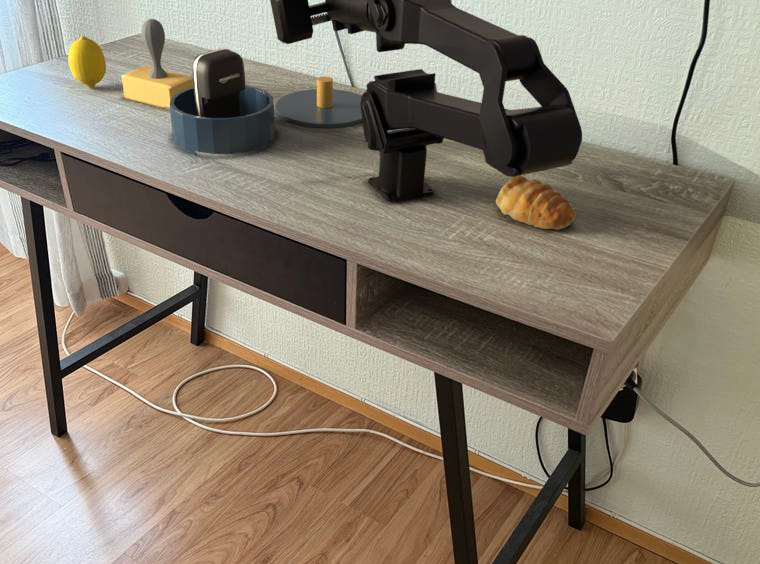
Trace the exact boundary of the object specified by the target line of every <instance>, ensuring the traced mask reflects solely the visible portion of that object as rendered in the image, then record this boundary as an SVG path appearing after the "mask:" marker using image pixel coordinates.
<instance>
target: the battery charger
mask: <svg viewBox="0 0 760 564" xmlns="http://www.w3.org/2000/svg"><path fill="white" fill-rule="evenodd" d="M244 63H245V62H244V60H243V57H242V56H241V55H240V54H239V53H238V52H236V51H233V50H231V49H229V48H218V49H213V50H209V51H206V52H203V53H199V54H197V56H195V57H194V59H193V61H192V64H191V65H192V67H191V68H192V70H191V71H192V77H193V86H194V95H195V103H196V110H197V116H198V117H207V118H232V117H240V116H241V114H240V106H239V93H240V91H242V90H245V88H246V86H245V85H246V73H245V64H244Z"/></svg>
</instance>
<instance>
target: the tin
mask: <svg viewBox="0 0 760 564" xmlns="http://www.w3.org/2000/svg"><path fill="white" fill-rule="evenodd" d="M245 86H246V88H245V90H242V91H240V93H239V106H240V114H241V116H240V117H232V118H207V117H198V116H197V110H196V103H195V95H194V87H192V88H188V89H185V90H183V91H181V92H178V93H176V94H175V95H174V96H173V97H172V98H171V99H170V104H169V105H170V107H169V112H170V121H171V122H170V123H171V129H172V139H173V142H174V145H176V146H177V147H178V148H179V150H181V151H184V152H186V153H189V154H192V155H195V156H198V153H203V154H212V155H229V154H232V155H233V154H239V153H246V152H250V151H254V150H257V149H260V148H262V147H264V146H266V145H268V144H270V143H271V142H272V141H273V139H274V138H275V136H276V130H275V129H276V128H275V127H276V125H275V101H274V97H273V96H272V95H271V93H269V92H268V91H266V90H265V89H262V88H260V87H256V86H252V85H248V84H245Z"/></svg>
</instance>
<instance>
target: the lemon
mask: <svg viewBox="0 0 760 564" xmlns="http://www.w3.org/2000/svg"><path fill="white" fill-rule="evenodd" d="M67 59H68V67H69V69H70V71H71V74H72V76H73V77H74V79H75V80H77V81H78V82H79V83H81V84H83V85H86V86H87V87H88V88H89V89H93V88H94V87H95V86H96V84H99V83H100V82H101V81H102V80H103V79H104V77H105V74H106V71H107V64H106V58H105V55H104V52H103V50H102V48H101V46H100V45H99V44H98V43H97V42H96V41H95V40H93V39H90V38H88V37H86V36H85V35H81V36H80V37H79V38H77V39H76V40H75V41H73V42H72V43H71V45H70V47H69V50H68V58H67Z"/></svg>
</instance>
